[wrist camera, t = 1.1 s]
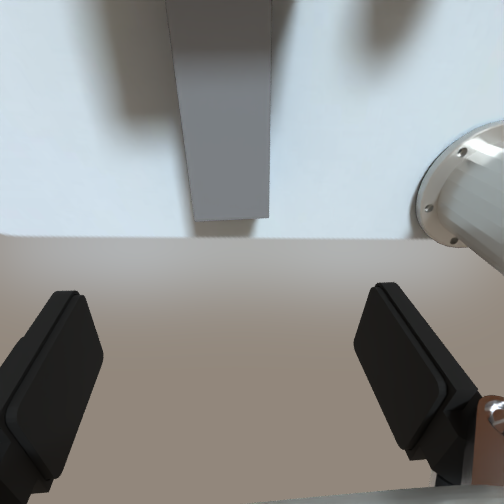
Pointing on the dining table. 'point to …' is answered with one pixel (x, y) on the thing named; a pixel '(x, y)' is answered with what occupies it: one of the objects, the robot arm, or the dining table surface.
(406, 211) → the dining table surface
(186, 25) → the grey u-shaped piece
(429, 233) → the robot arm
